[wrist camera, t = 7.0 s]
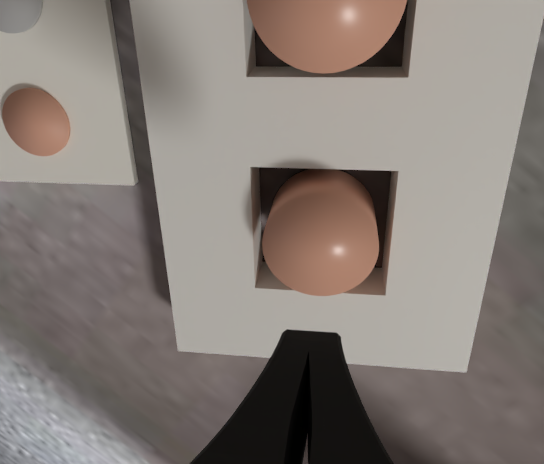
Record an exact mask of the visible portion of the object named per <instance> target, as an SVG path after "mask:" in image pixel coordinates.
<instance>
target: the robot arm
mask: <svg viewBox="0 0 544 464" xmlns="http://www.w3.org/2000/svg"><path fill="white" fill-rule="evenodd" d="M307 433H308V464H393V462H392V460H391V459H390V457H389V455H388V453H387V452H386V450H385V448H384V446H383V445H382V443H381V441H380V439H379V437H378V435H377V433H376V432H375V430H374V428H373V426H372V424H371V422H370V420H369V418H368V416H367V413H366V411H365V409H364V407H363V405H362V402H361V400H360V398H359V395H358V393H357V390H356V388H355V386H354V383H353V380H352V378H351V375H350V372H349V369H348V366H347V363H346V360H345V356H344V352H343V348H342V343H341V336H340V335H339V334H338V333H335V332H320V331H304V330H289V329H287V330H285V331H284V332H283V333H282V334H281V337H280V340H279V342H278V344H277V346H276V348H275V350H274V352H273V354H272V356H271V358H270V359H269V361H268V363H267V365H266V366H265V368H264V370H263V371H262V373H261V374H260V376H259V378H258V379H257V381H256V382H255V384H254V385H253V387H252V389H251V390H250V392H249V393H248V394H247V396H246V397H245V398H244V400H243V401H242V403H241V404H240V405H239V407H238V408H237V409H236V411H235V412H234V414H233V415H232V416H231V417H230V419H229V420H228V421H227V422H226V424H225V425H224V426H223V427H222V429H221V430H220V431H219V432H218V433H217V435H216V436H215V437H214V438H213V439H212V440H211V441H210V443H209V444H208V445H207V446H206V447H205V448H204V449H203V450H202V451H201V452H200V453H199V454H198V455H197V456H196V457H195V459H194V460H193V461H192V462H191V463H190V464H302V463H303V457H304V451H305V445H306V439H307Z"/></svg>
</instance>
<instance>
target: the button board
mask: <svg viewBox="0 0 544 464" xmlns="http://www.w3.org/2000/svg"><path fill="white" fill-rule="evenodd" d="M129 2H130V9H131V16H132V23H133V30H134V38H135V45H136V52H137V59H138V66H139V74H140V81H141V88H142V95H143V102H144V110H145V117H146V124H147V131H148V138H149V146H150V153H151V160H152V167H153V174H154V182H155V189H156V196H157V203H158V210H159V218H160V225H161V232H162V239H163V246H164V254H165V261H166V268H167V275H168V282H169V290H170V297H171V304H172V311H173V318H174V326H175V333H176V340H177V347H178V351H185V352H198V353H212V354H225V355H238V356H252V357H265V358H271V356H272V354H273V352H274V350H275V348H276V346H277V344H278V342H279V340H280V337H281V334H282V333H283V332H284V331H285V330H287V329H289V330H304V331H320V332H335V333H338V334H339V335H340V336H341V343H342V348H343V352H344V356H345V360H346V363H347V364H359V365H372V366H386V367H399V368H412V369H426V370H439V371H453V372H467V367H468V363H469V358H470V354H471V349H472V344H473V340H474V335H475V331H476V326H477V321H478V317H479V312H480V308H481V303H482V298H483V294H484V289H485V284H486V280H487V275H488V271H489V266H490V261H491V257H492V252H493V248H494V243H495V238H496V234H497V229H498V225H499V220H500V215H501V211H502V206H503V202H504V197H505V192H506V188H507V183H508V178H509V174H510V169H511V165H512V160H513V155H514V151H515V146H516V142H517V137H518V132H519V128H520V123H521V119H522V114H523V109H524V105H525V100H526V96H527V91H528V86H529V82H530V77H531V72H532V68H533V63H534V59H535V54H536V49H537V45H538V40H539V36H540V31H541V26H542V22H543V17H544V0H408V8H407V18H406V28H405V38H404V48H403V58H402V67H353V68H351V69H348V70H345V71H341V72H336V73H325V74H322V73H312V72H307V71H303V70H300V69H297V68H294V67H256V50H255V27H254V25H253V23H252V20H251V17H250V14H249V10H248V5H247V0H129ZM259 167H267V168H305V169H342V170H379V171H391V180H390V190H389V200H388V210H387V220H386V231H385V241H384V251H383V261H382V268H373V270H372V271H371V273H370V274H369V276H368V277H367V278H366V279H365V280H364V281H363V282H361V283H360V284H359V285H357V286H356V287H354V288H353V289H351V290H348V291H346V292H343V293H340V294H336V295H330V296H314V295H308V294H304V293H301V292H298V291H296V290H293V289H291V288H290V287H288V286H286V285H285V284H283V283H282V282H281V281H280V280H279V279H278V278H277V277H276V276H275V275H274V274H273V273H272V272H271V270H270V269H269V267H268V265H267V263H266V262H262V232H261V202H260V171H259Z"/></svg>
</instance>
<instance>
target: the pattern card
mask: <svg viewBox="0 0 544 464" xmlns="http://www.w3.org/2000/svg"><path fill="white" fill-rule="evenodd" d="M0 181H10V182H41V183H72V184H103V185H134V186H135V185H136V184H137V183H138V176H137V170H136V164H135V157H134V151H133V144H132V138H131V131H130V125H129V118H128V112H127V106H126V99H125V93H124V86H123V80H122V73H121V67H120V61H119V54H118V48H117V41H116V35H115V28H114V22H113V15H112V9H111V3H110V0H0Z"/></svg>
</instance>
